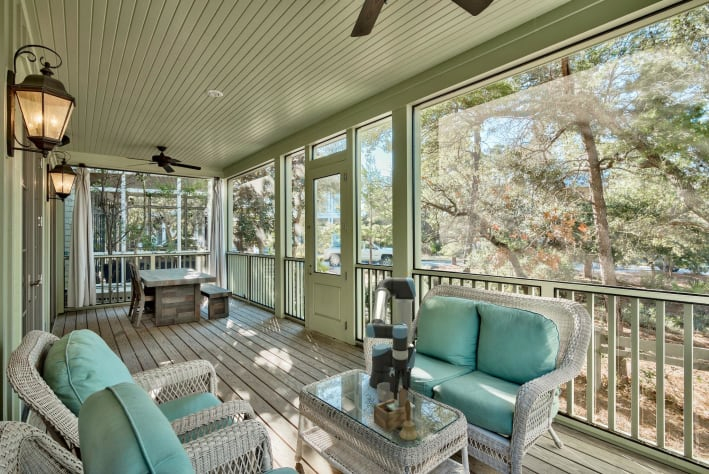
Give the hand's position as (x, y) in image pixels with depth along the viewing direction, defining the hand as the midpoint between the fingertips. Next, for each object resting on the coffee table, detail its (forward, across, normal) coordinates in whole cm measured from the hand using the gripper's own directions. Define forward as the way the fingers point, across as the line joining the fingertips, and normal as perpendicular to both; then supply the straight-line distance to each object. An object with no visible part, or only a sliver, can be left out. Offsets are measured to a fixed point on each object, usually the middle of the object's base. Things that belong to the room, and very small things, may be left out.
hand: (400, 403), depth 170 cm
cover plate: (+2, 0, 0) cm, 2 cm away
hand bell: (+7, +6, +13) cm, 16 cm away
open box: (+7, +6, 0) cm, 9 cm away
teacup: (+7, -4, -17) cm, 19 cm away
